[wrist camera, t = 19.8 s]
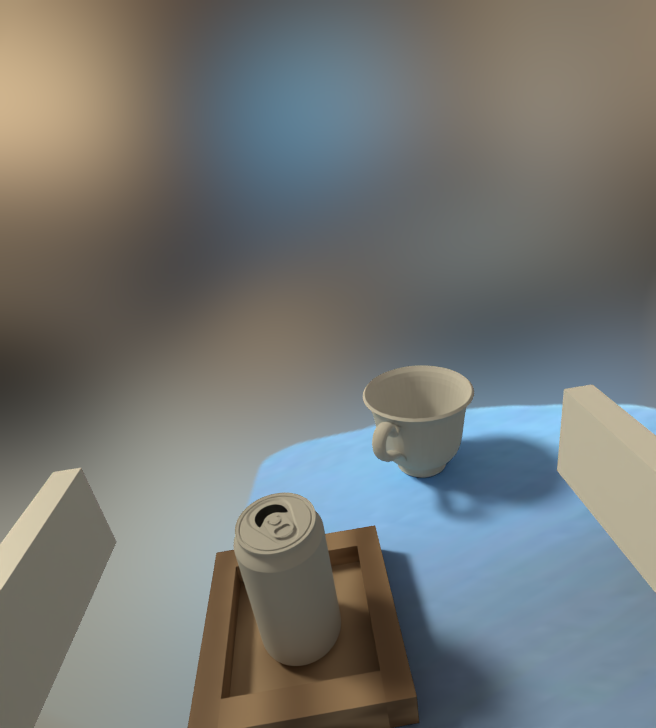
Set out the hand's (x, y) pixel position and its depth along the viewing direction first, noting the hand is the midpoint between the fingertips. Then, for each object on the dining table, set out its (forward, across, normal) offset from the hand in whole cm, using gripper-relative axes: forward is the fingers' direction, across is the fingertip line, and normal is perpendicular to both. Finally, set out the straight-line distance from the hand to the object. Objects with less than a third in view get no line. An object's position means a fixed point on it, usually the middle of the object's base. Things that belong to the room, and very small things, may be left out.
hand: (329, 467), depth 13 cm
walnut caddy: (+14, -5, -28) cm, 32 cm away
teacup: (+33, +8, -28) cm, 44 cm away
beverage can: (+14, -5, -27) cm, 31 cm away
